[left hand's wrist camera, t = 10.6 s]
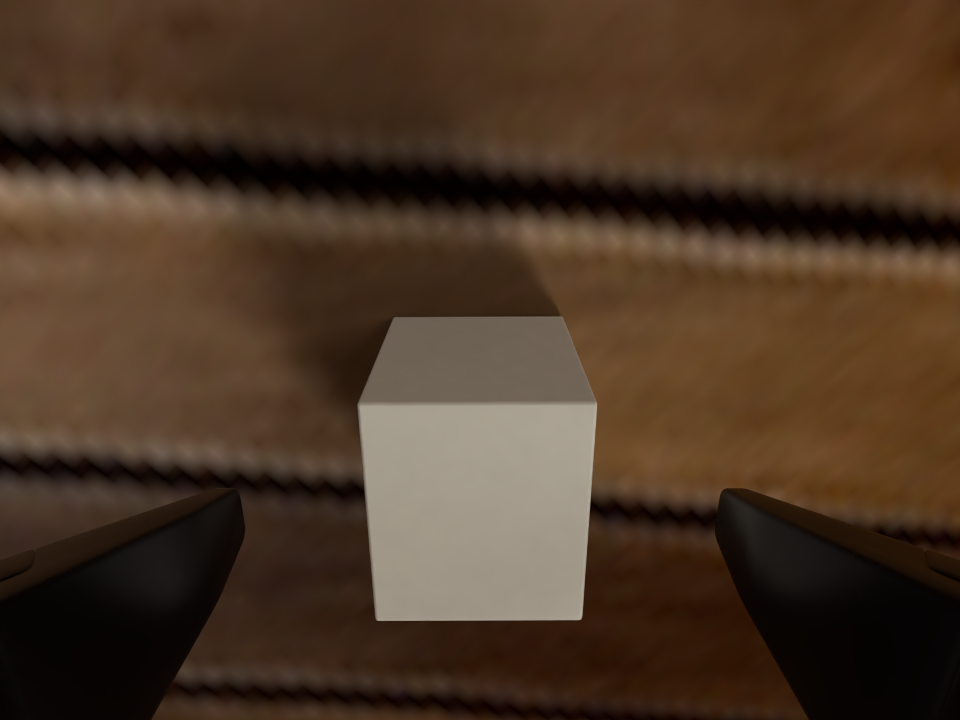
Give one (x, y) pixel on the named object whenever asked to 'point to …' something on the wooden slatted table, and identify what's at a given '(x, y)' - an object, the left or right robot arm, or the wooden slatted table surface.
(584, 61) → the wooden slatted table surface
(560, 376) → the beige cube
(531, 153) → the wooden slatted table surface
